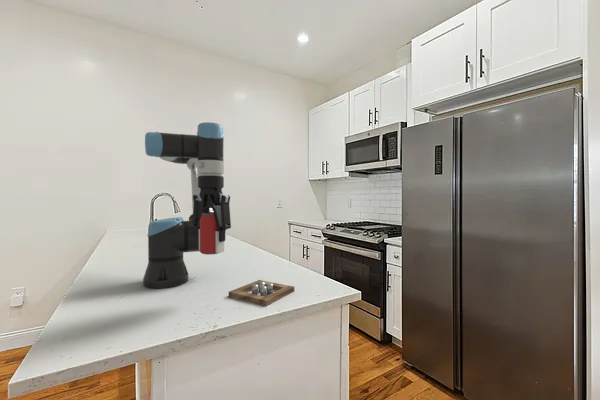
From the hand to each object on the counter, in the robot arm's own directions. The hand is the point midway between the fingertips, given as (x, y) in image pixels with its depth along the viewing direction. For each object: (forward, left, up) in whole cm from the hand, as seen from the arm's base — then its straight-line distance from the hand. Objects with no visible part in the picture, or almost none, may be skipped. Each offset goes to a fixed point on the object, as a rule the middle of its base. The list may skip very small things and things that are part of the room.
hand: (211, 250), depth 90 cm
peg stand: (+10, +12, -15) cm, 22 cm away
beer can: (0, 0, -1) cm, 1 cm away
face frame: (+10, +12, -15) cm, 22 cm away
